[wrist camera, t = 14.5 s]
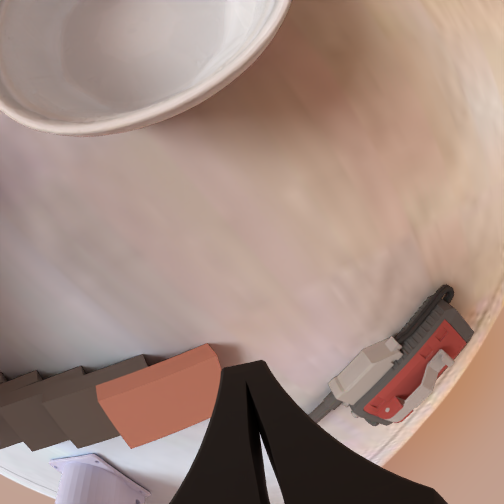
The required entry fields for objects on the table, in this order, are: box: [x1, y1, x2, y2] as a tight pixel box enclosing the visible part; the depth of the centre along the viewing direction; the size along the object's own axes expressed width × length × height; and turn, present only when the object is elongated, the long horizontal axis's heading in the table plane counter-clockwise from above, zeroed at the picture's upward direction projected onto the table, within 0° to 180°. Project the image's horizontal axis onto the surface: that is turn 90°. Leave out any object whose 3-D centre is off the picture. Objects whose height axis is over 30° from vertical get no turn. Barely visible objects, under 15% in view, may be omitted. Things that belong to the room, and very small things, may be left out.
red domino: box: [96, 343, 221, 449], centre depth 18 cm, size 2×5×8 cm
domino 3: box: [42, 354, 148, 448], centre depth 18 cm, size 2×5×8 cm
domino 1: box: [0, 370, 42, 449], centre depth 17 cm, size 2×5×8 cm
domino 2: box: [0, 366, 85, 452], centre depth 17 cm, size 2×5×8 cm
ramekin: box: [0, 0, 292, 137], centre depth 10 cm, size 13×13×7 cm
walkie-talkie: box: [308, 284, 474, 426], centre depth 22 cm, size 9×4×20 cm
